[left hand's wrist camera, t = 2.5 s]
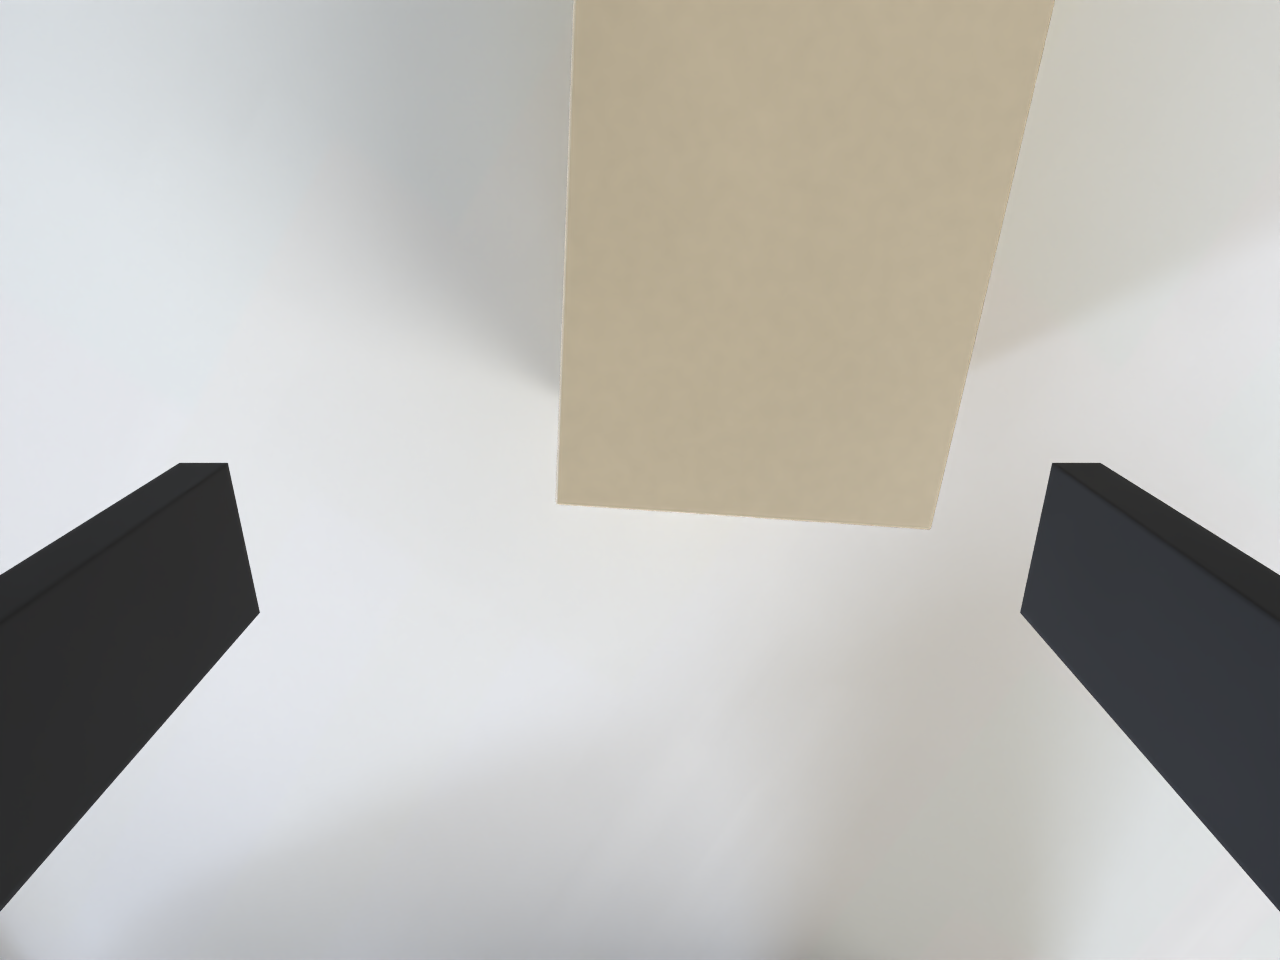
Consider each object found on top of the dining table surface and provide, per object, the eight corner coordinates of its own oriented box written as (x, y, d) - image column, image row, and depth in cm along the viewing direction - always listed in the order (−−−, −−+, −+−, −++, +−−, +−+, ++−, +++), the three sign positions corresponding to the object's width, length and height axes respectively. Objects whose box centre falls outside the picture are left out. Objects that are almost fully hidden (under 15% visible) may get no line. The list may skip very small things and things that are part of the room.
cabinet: (607, -186, 23) (588, -411, 14) (952, -155, 23) (1140, -356, 14) (580, 409, 29) (555, 505, 21) (846, 428, 30) (931, 530, 21)
